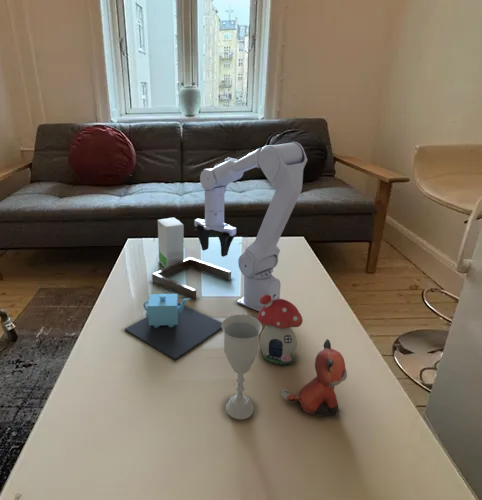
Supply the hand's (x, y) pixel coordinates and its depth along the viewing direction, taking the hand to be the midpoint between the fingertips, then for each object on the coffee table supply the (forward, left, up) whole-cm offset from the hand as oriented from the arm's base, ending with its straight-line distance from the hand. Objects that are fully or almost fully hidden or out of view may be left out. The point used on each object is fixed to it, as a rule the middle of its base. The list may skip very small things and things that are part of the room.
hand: (214, 252), depth 118 cm
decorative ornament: (-35, +20, -10) cm, 41 cm away
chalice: (-38, +38, -10) cm, 54 cm away
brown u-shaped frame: (+4, +5, -9) cm, 12 cm away
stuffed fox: (-47, +28, -10) cm, 55 cm away
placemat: (-10, +27, -9) cm, 30 cm away
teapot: (-7, +27, -9) cm, 29 cm away
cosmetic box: (+19, 0, -10) cm, 22 cm away
